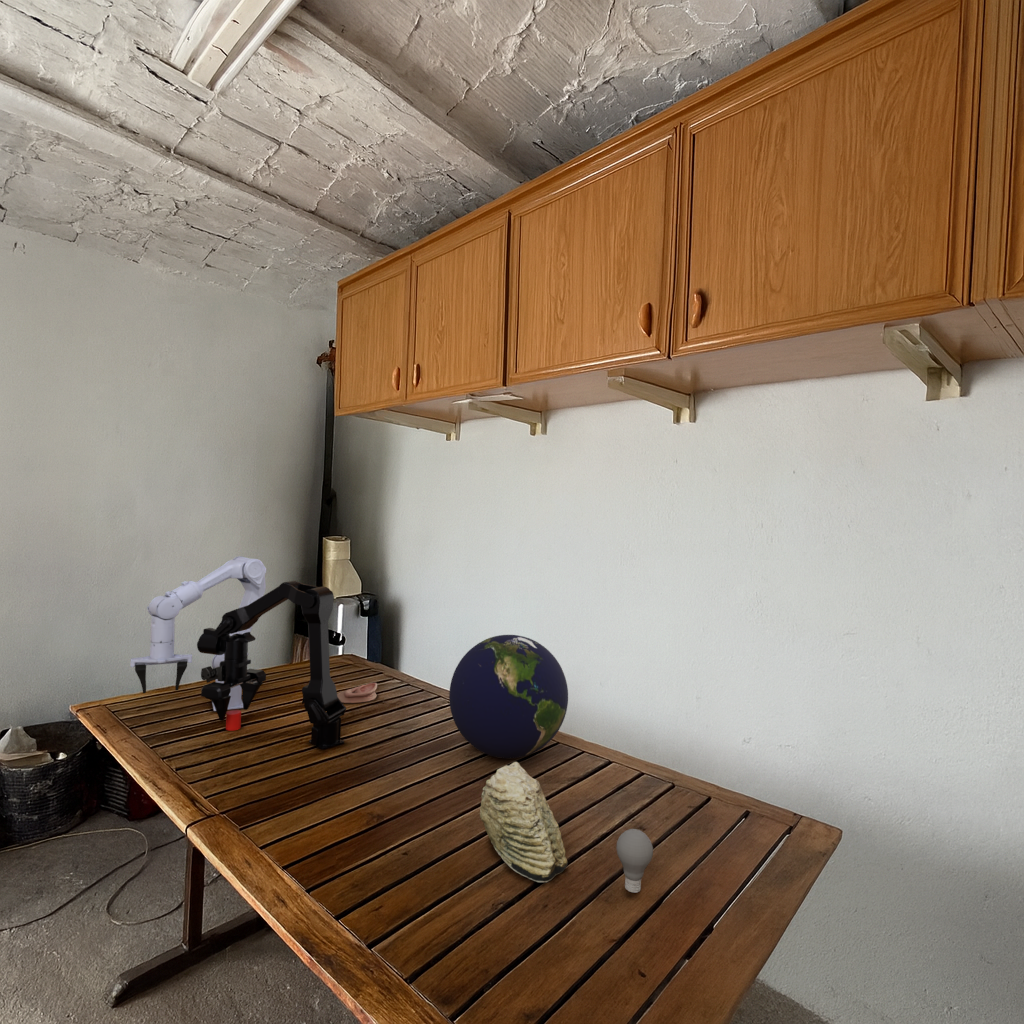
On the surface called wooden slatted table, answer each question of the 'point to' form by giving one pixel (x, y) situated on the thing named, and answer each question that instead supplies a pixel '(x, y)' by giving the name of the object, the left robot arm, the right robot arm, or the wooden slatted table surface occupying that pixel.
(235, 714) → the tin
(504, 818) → the fossil
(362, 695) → the anatomical model
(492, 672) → the globe
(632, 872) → the light bulb
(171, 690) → the wooden slatted table surface
